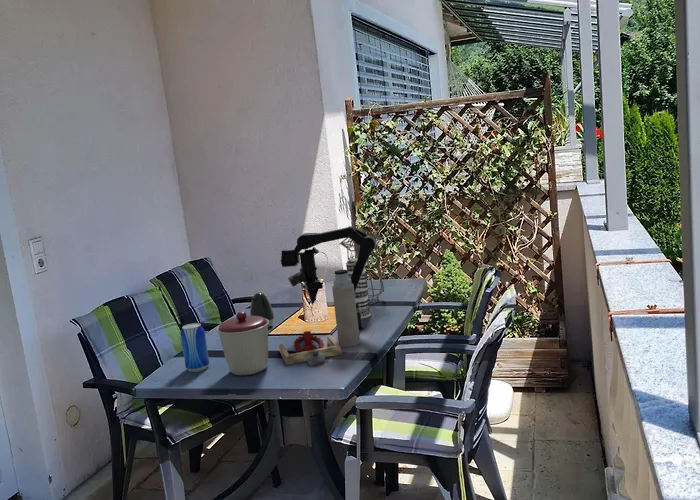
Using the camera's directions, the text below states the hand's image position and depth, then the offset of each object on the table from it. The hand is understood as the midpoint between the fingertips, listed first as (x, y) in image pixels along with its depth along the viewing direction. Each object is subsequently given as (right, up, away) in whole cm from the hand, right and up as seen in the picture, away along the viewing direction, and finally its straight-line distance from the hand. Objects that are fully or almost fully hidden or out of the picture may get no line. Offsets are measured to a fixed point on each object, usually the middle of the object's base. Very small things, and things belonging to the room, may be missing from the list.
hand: (312, 302), depth 263 cm
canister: (-20, -21, -36) cm, 46 cm away
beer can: (-40, -22, -28) cm, 53 cm away
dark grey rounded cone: (-22, -12, +18) cm, 31 cm away
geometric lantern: (+23, -3, +39) cm, 46 cm away
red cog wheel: (+1, -17, -24) cm, 29 cm away
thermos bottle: (+15, -14, -19) cm, 27 cm away
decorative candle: (+20, -7, +18) cm, 27 cm away
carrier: (+1, -17, -28) cm, 32 cm away
